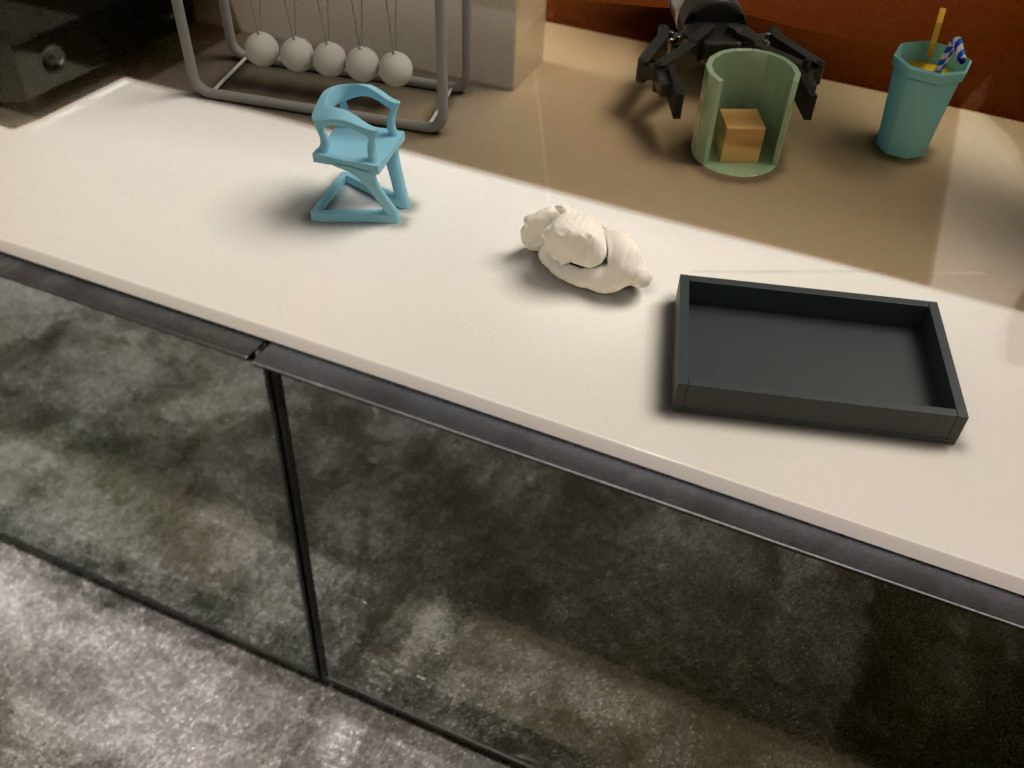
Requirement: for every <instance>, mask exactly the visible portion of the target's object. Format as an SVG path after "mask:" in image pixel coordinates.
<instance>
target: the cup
mask: <svg viewBox="0 0 1024 768" xmlns="http://www.w3.org/2000/svg"><path fill="white" fill-rule="evenodd" d="M946 12H947V8H946V7H940V8H939V11H938V15H937V18H936V21H935V25H934V29H933V32H932V36H931V38H930V40H918V41H907V42H902V43H900V44H899V45H898V47H897V49H896V51H895V52H894V54H893V56H892V62H891V65H892V66H893V69H892V72H891V78H890V81H889V86H888V91H887V94H886V99H885V104H884V106H883V112H882V116H881V121H880V125H879V129H878V132H877V133H878V134H877V138H876V142H875V144H876V145H877V146H878V147H879V148H880V149H881V151H883V152H884V153H885V154H887V155H890V156H894V157H897V158H901V159H905V160H909V159H916V158H922V159H923V157H925V153H926V151H927V150H928V147H929V145H930V144H931V141H932V139H933V137H934V135H935V133H936V131H937V129H938V127H939V125H940V122H941V120H942V118H943V117H944V115H945V113H946V110H947V108H948V106H949V104H950V102H951V100H952V98H953V95H954V94H955V92H956V90H957V88H958V85H959V84H960V83H963V81H964V79H965V77H966V75H967V73H968V72H969V69H970V67H971V66H972V65H971V64H972V63H973V61H972V59H971V58H970V57H968V56H967V54H966V51H965V47H964V42H963V37H961V36H960V35H958V36H954V37H952V38H950V40H949V41H948V43H947V44H944V43H939V42H938V39H939V35H940V32H941V29H942V26H943V23H944V19H945V15H946Z"/></svg>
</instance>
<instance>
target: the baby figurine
mask: <svg viewBox="0 0 1024 768" xmlns="http://www.w3.org/2000/svg"><path fill="white" fill-rule="evenodd" d="M523 223H524V224H523V225H522V227H521V228H520V230H519V232H520V241H521V243H522V244H523V245H524V247H525V248H526V249H527V250H530V251H532V252H533V251H534V252H538V255H537V256H538V260H539V261H540V262H541V264H542V265H543V266H545V268H546V269H548V271H549V272H550V273H551V274H552V275H554V276H555V277H556V278H557V279H560V280H562V281H564V282H566V283H567V284H570V285H572V286H575V287H577V288H581V289H587V290H590V291H592V292H595V293H597V294H603V295H605V294H606V295H607V294H613V293H616V292H618V291H621V290H623V289H624V288H626V287H628V286H632V287H634V288H636V289H645V288H648V287H649V286H650V285H651V283H652V282H653V272H652V270H650V268H649V267H647V266H646V265H645V263H644V258H643V249H642V246H641V245H640V244H639V242H638V241H637V240H636V239H635V238H634V237H633V236H632V235H630V234H628V233H626V232H624V231H622V230H621V229H617V228H615V227H611V226H609V225H605V224H603V225H602V224H601V223H600V222H599V221H598V220H597V219H596V218H594V217H593V216H591V215H589V214H585V213H581V212H580V213H579V211H577V210H576V208H574V207H572V206H571V205H570V204H567V203H563V204H556V205H555V206H553V205H551V206H550V205H549V206H546V207H544V208H542V209H539V210H537V211H536V212H533V213H530V214H527V215H525V216H524V217H523ZM605 260H606V261H607V263H606V264H603V262H604V261H605ZM571 263H572V264H571ZM574 264H575V265H574ZM577 265H578V266H577ZM579 266H580V267H579Z"/></svg>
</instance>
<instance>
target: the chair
mask: <svg viewBox="0 0 1024 768" xmlns="http://www.w3.org/2000/svg"><path fill="white" fill-rule="evenodd" d="M359 97H368V98H371V99H373V100H375V101H377V102H379V103H380V104H381V105H383V106H385V107H386V108H387V109H389V112H388V115H387V116H388V119H387V126H386V127H377V126H374V125H372V124H369V123H366V122H365V121H363V120H362V119H360V118H359V117H357V116H356V115H354V114H352V113H351V112H349V110H350V109H349V106H348V102H347V101H349V100H351V99H354V98H359ZM315 104H316V105H315V108H314V110H313V113H312V114H311V121H312V123H313V125H314V128H315V130H316V132H317V133H318V136H319V140H320V141H319V145H318V146H317V147H316V148H315V150H314V151H313V152H312V161H313V162H312V163H317V164H322V165H329V166H333V167H335V168H338V169H340V170H343V171H341V172H340V173H339V174H338V175H337V177H336V178H335V180H334V181H333V182H332V184H330V185H329V187H328V188H327V189H326V191H325V192H324V193H323V195H322V196H321V197H320V199H319V200H318V201H317V202H316V204H315V205H314V206H313V207H312V208H311V209H310V212H309V213H310V219H311V221H313V222H321V223H382V224H384V223H385V224H399V223H401V221H402V218H401V213H400V211H399V209H402V210H409V209H410V208H411V201H410V197H409V192H408V189H407V188H408V187H407V184H406V180H405V177H404V173H403V169H402V163H401V158H400V147H401V146H402V145H403V143H405V141H406V132H405V131H404V130H398V128H396V125H395V119H396V117H397V113H398V110H399V107H400V104H401V100H399V99H396V98H393V97H392V96H391V95H389V94H387V93H386V92H385V91H383V90H382V89H381V88H379V87H377V86H375V85H373V84H370V83H344V84H337V85H333V86H330V87H328V88H326V89H324V90H323V91H322V93H321V94H320V96H319V98H318V99H317V101H316V103H315ZM337 105H339V107H337ZM333 126H335V127H334V128H333V129H332V131H331V132H330V133H329V134H328V132H327V130H326V129H325V128H327V127H333ZM385 167H386V168H387V171H388V175H389V179H390V184H391V187H392V190H390V189H388V188H387V187H386V188H385V187H384V186H381V184H380V182H379V180H378V178H377V175H378V176H379V175H380V174H381V173H382V171H383V170H384V168H385ZM345 184H348V185H351V186H352V187H355V188H357V189H359V190H361V191H363V192H365V193H367V194H369V195H370V196H372V197H373V198H374V199H375V200H376V202H377V203H378V205H379V206H380V207H381V208H366V209H365V208H363V209H361V208H359V209H327V208H328V206H329V204H330V203H331V202H332V200H333V199H334V198H335V197H336V195H337V194H338V193H339V191H340V190H341V189H342V188H343V186H344V185H345ZM398 208H399V209H398Z"/></svg>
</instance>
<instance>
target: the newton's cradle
mask: <svg viewBox="0 0 1024 768" xmlns="http://www.w3.org/2000/svg"><path fill="white" fill-rule="evenodd" d="M261 1H262V0H258V7H259V28H258V23H257V19H256V15H255V10H254V6H253V2H252V0H249V3H250V8H251V12H252V16H253V21H254V24H255V29H256V32H253V33H252V34H250V35H249V36H248V37H247V38H246V40H245V43H244V49H243V48H241V46H240V45H239V44H238V42H237V39H236V33H235V29H234V23H233V17H232V11H231V7H230V0H218V5H219V11H220V16H221V22H222V27H223V32H224V38H225V42H226V45H227V48H228V49H229V50H230V52H231V53H232V54H233V55H234V56H235V57H236V58H238V59H240V60H239V61H238V63H237V64H236V65H235V66H233V67H232V68H231V69H230V71H228V72H227V74H226V75H225V76H224V77H223V78H222V79H221V80H220V81H219V82H218V83H216V85H215V86H214V87H209V86H207V85H206V84H205V83H204V82H202V81H201V79H200V77H199V72H198V67H197V63H196V58H195V53H194V49H193V48H194V47H193V43H192V39H191V34H190V30H189V24H188V21H187V15H186V12H185V11H186V10H185V6H184V2H183V0H170V2H171V7H172V11H173V15H174V21H175V25H176V29H177V34H178V38H179V43H180V47H181V51H182V52H181V53H182V56H183V61H184V65H185V70H186V75H187V78H188V81H189V84H190V85H191V86H192V88H193V89H194V90H195V91H196V92H197V93H198V94H200V96H203V97H205V98H207V99H213V100H219V101H224V102H232V103H236V104H237V103H238V104H244V105H250V106H257V107H263V108H270V109H275V110H281V111H289V112H293V113H295V112H296V113H301V114H307V115H312V113H313V110H314V108H315V105H316V103H309V102H303V101H297V100H292V99H291V100H290V99H283V98H278V97H271V96H264V95H258V94H252V93H246V92H240V91H232V90H228V89H227V90H226V89H220V88H221V87H222V85H224V83H225V82H226V81H227V80H228V79H229V78H231V76H232V75H233V74H234V73H235V72H236V71H237V70H238V69H239V68H240V67H241V66H243V64H244V63H245V62H250V63H251V64H253V65H254V66H256V67H259V68H267V67H270V66H274V67H281V68H286V69H287V70H289V71H291V72H294V73H304V72H306V71H309V72H316V73H319V74H320V75H321V76H323V77H326V78H336V77H338V76H342V77H349V78H351V79H353V80H354V81H356V82H359V83H368V82H371V81H375V82H381V83H385V84H386V85H387V86H389V87H392V88H400V87H403V86H409V87H414V88H421V89H427V90H434V91H436V99H437V100H436V103H437V104H436V105H437V107H436V109H435V111H434V112H433V114H432V116H431V117H430V119H429V121H424V120H418V119H411V118H404V117H399V116H396V119H395V125H396V129H401V130H409V131H414V132H421V133H427V134H428V133H429V134H432V133H433V134H434V133H436V132H439V131H441V130H442V129H443V128H445V126H446V125H447V123H448V119H449V97H450V95H451V94H452V93H459V92H462V91H464V90H466V89H467V88H468V87H469V86H470V84H471V82H472V79H473V0H461V77H460V79H459V80H458V81H449V80H448V78H449V77H448V76H449V75H448V30H447V29H448V27H447V26H448V25H447V24H448V23H447V22H448V21H447V0H434V27H435V30H434V32H435V64H436V65H435V67H436V68H435V69H436V79H435V78H428V77H421V76H414V75H413V70H414V67H413V63H412V60H411V59H410V58H409V57H408V56H407V54H404V53H403V52H401V51H397V44H398V43H397V42H398V41H397V38H398V37H397V36H398V35H397V34H398V33H397V31H398V29H397V27H398V24H397V23H398V21H397V20H398V19H397V18H398V14H397V13H398V0H394V4H395V5H394V41H393V34H392V26H391V20H390V19H391V18H390V12H389V5H388V0H385V7H386V14H387V22H388V29H389V36H390V43H391V50H392V51H389V52H387V53H385V54H384V55H383V56H382V57H381V58H380V59H379V56H378V55H377V53H376V52H375V51H374V50H373V49H371V48H370V47H368V46H364V21H363V19H364V18H363V17H364V16H363V15H364V13H363V11H364V10H363V0H360V27H361V28H360V30H361V31H360V33H361V35H359V31H358V24H357V19H356V12H355V8H354V7H355V6H354V1H353V0H350V3H351V10H352V15H353V20H354V27H355V33H356V38H357V45H358V46H357V47H354V48H352V49H350V51H349V52H348V53H346V51H345V50H344V48H343V47H342V46H341V45H339V43H337V42H333V41H331V32H330V4H329V3H330V1H329V0H326V5H327V7H326V8H327V9H326V10H327V35H328V36H327V35H326V30H325V25H324V20H323V14H322V11H321V6H320V1H319V0H316V2H317V8H318V12H319V17H320V22H321V26H322V31H323V36H324V37H323V38H324V41H323V42H321V43H320V44H318V45H317V46H316V47H315V48H313V46H312V44H311V43H310V42H309V41H308V40H307V39H305V38H303V37H299V36H298V27H297V7H296V0H293V10H294V12H293V13H294V29H295V30H293V27H292V23H291V17H290V14H289V9H288V4H287V1H286V0H283V2H284V6H285V11H286V16H287V19H288V24H289V28H290V32H291V36H292V37H289V38H288V39H286V40H285V41H284V42H283V43H282V44H281V47H279V43H278V41H277V40H276V38H275V37H274V36H273V35H271V34H270V33H268V32H265V31H263V27H262V26H263V25H262V23H263V22H262V2H261ZM294 31H295V32H294ZM294 33H295V35H294ZM359 36H361V43H360V37H359ZM349 112H351V113H352V114H354V115H356V116H357V117H359V118H360V119H362V120H363V121H365V122H366V123H368V124H370V125H376V126H382V127H387V119H388V116H389V115H386V114H379V113H373V112H366V111H360V110H355V109H349Z"/></svg>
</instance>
